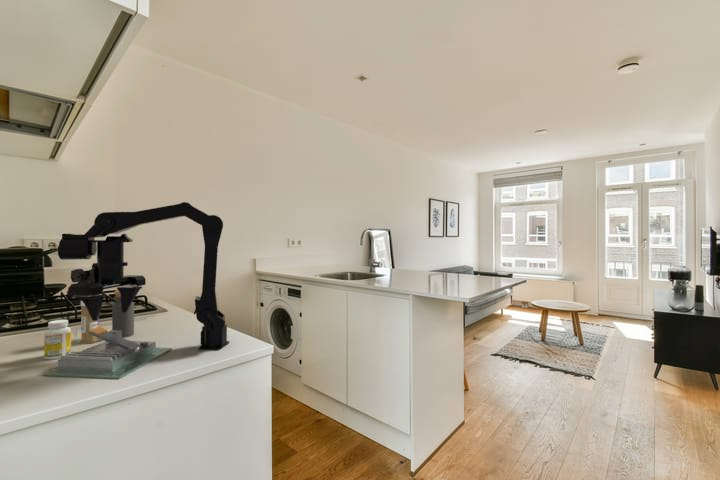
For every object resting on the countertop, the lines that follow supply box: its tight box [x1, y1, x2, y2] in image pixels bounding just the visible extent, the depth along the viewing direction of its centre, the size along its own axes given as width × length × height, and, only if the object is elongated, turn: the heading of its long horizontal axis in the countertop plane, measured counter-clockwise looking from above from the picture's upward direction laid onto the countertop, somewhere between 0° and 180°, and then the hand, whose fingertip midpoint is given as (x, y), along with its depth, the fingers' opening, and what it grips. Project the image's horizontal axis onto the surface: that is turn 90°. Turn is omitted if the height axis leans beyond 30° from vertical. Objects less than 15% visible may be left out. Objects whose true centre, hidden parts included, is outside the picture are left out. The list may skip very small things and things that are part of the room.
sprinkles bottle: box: [80, 300, 100, 345], centre depth 101 cm, size 5×5×14 cm
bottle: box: [111, 289, 135, 338], centre depth 107 cm, size 6×6×15 cm
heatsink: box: [43, 340, 173, 380], centre depth 85 cm, size 19×19×4 cm
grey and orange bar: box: [89, 326, 144, 352], centre depth 85 cm, size 14×3×1 cm, turn 87°
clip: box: [97, 329, 122, 342], centre depth 90 cm, size 3×5×3 cm, turn 177°
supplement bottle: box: [43, 319, 72, 360], centre depth 89 cm, size 5×5×10 cm
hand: (110, 316), depth 88 cm, fingers open, 9 cm apart
